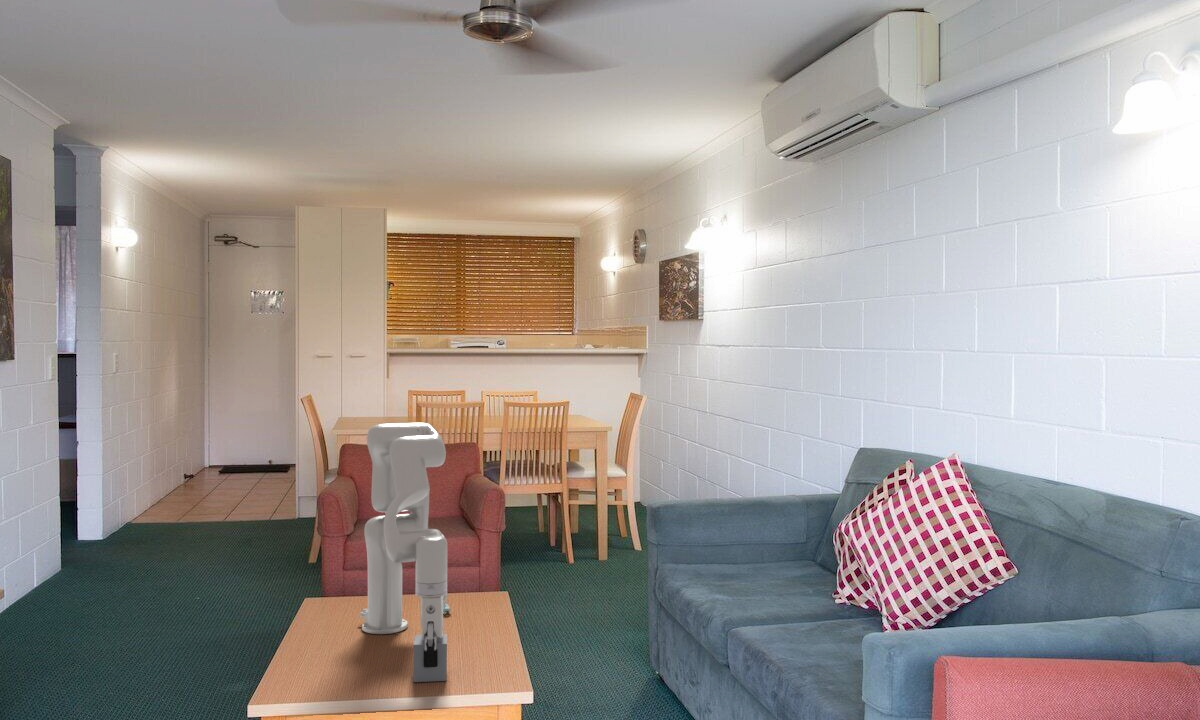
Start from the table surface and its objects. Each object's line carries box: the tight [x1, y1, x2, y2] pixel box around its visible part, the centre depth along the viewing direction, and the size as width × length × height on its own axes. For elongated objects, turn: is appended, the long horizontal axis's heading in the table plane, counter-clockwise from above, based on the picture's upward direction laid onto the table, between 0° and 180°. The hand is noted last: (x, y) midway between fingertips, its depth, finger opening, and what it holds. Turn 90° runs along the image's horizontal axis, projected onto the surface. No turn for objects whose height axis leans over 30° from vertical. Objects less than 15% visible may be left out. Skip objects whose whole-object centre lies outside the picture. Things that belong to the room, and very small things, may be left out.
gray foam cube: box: [412, 633, 448, 683], centre depth 221 cm, size 8×8×9 cm
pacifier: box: [443, 593, 452, 615], centre depth 275 cm, size 7×6×6 cm
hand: (431, 660), depth 221 cm, fingers closed on gray foam cube, 7 cm apart
